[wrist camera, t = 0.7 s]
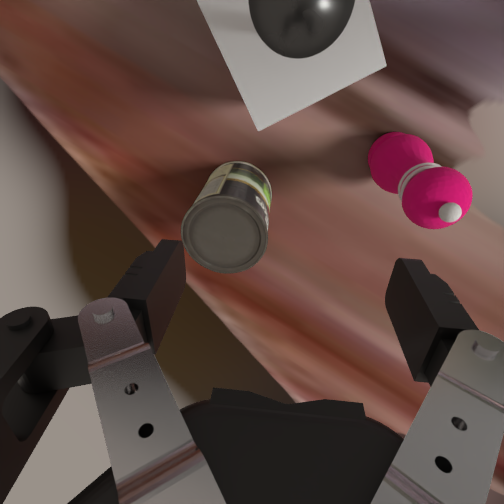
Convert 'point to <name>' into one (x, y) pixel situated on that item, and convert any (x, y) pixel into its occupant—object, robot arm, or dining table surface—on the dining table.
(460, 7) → the dining table surface
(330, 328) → the dining table surface
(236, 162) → the coffee can
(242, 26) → the white cabinet
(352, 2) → the grey thin rod
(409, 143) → the pepper mill
